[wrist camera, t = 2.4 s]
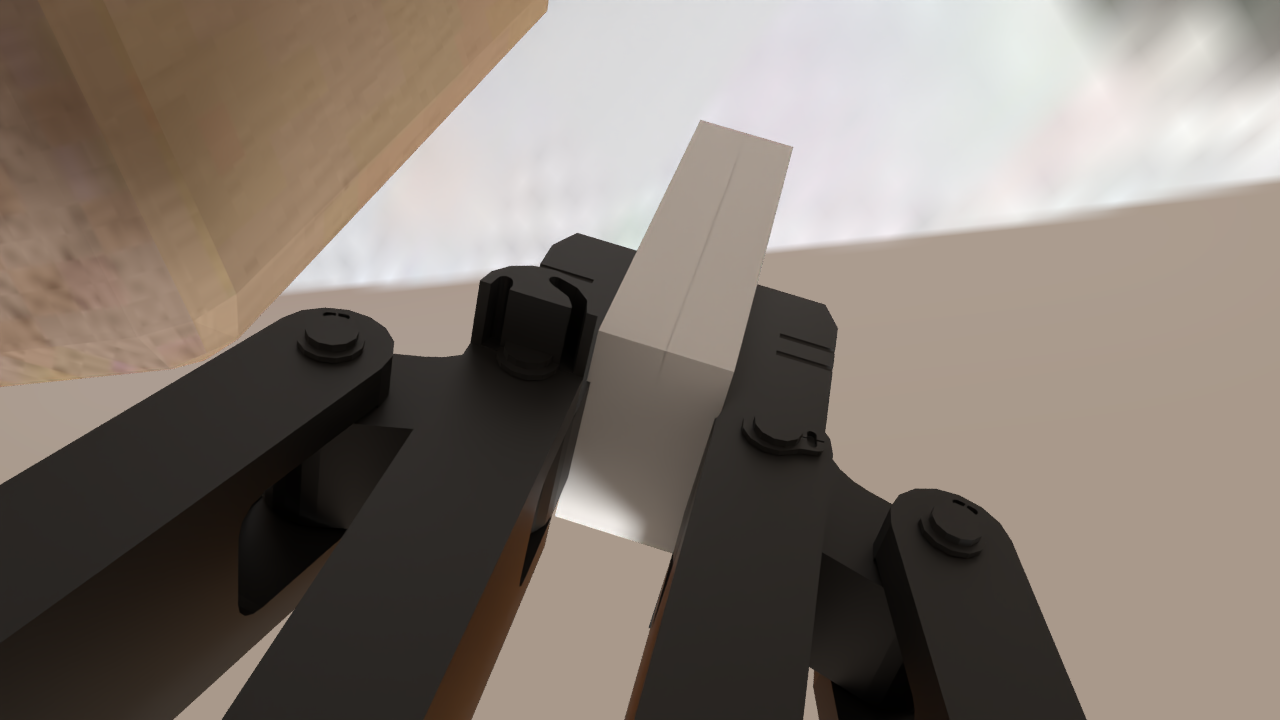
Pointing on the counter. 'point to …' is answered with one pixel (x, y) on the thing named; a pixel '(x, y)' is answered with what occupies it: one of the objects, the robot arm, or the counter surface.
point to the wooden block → (203, 158)
